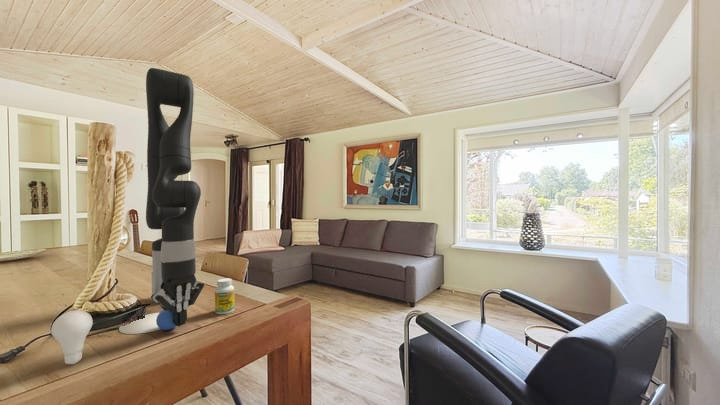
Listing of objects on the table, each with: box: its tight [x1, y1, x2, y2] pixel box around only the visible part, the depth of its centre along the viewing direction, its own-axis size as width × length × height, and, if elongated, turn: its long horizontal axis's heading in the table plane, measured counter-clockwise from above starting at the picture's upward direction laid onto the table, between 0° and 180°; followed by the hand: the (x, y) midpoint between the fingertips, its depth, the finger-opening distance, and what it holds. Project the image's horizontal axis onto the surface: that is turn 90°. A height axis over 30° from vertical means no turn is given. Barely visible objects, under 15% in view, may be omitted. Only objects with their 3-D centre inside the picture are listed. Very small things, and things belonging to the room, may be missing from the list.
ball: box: [156, 309, 177, 331], centre depth 76 cm, size 6×6×6 cm
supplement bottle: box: [214, 277, 236, 315], centre depth 88 cm, size 5×5×10 cm
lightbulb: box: [50, 309, 94, 366], centre depth 60 cm, size 6×6×11 cm
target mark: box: [118, 311, 161, 335], centre depth 81 cm, size 14×14×1 cm
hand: (179, 324), depth 75 cm, fingers closed
